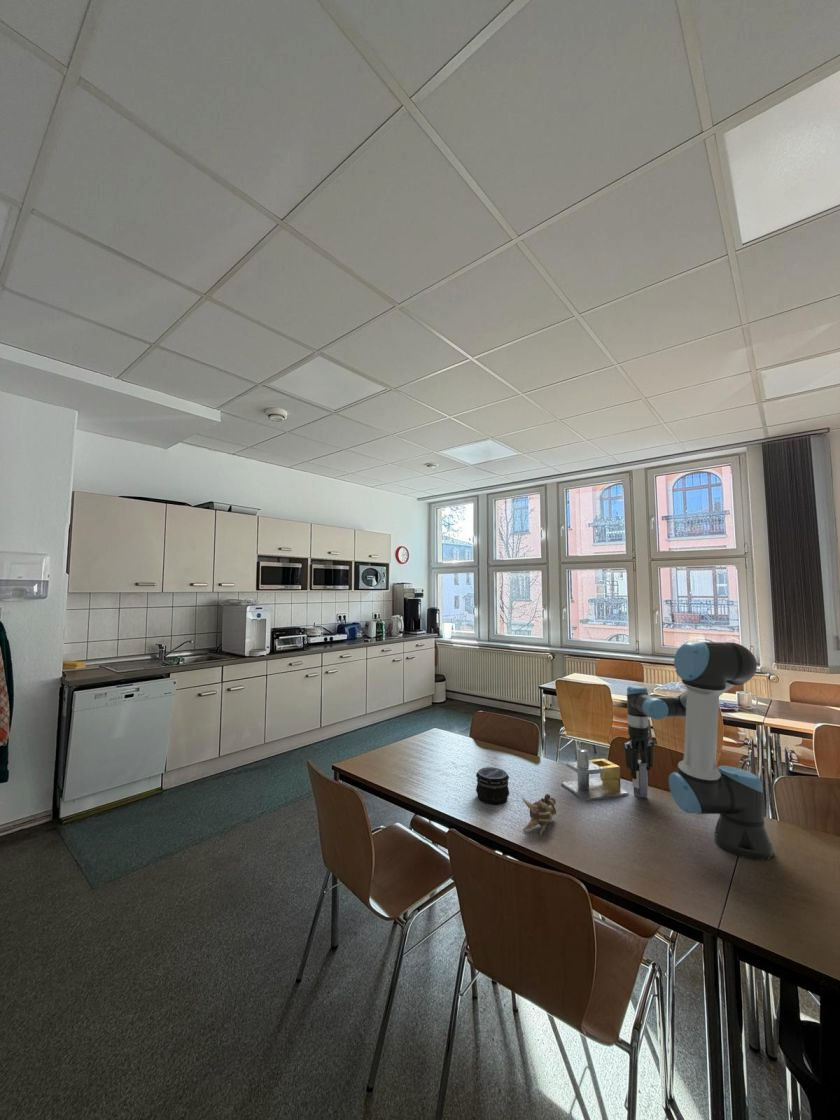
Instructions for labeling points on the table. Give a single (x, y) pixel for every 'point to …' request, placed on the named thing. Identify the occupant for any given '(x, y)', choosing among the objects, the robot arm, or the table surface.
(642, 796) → the pin
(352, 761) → the table surface
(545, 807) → the toy
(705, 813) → the robot arm
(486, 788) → the container
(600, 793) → the grey frame
